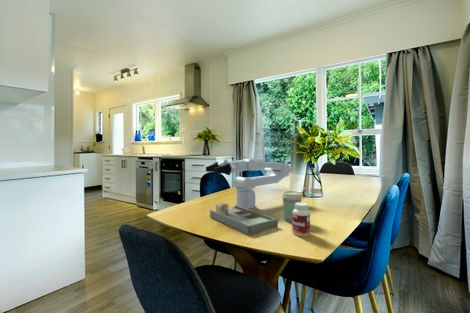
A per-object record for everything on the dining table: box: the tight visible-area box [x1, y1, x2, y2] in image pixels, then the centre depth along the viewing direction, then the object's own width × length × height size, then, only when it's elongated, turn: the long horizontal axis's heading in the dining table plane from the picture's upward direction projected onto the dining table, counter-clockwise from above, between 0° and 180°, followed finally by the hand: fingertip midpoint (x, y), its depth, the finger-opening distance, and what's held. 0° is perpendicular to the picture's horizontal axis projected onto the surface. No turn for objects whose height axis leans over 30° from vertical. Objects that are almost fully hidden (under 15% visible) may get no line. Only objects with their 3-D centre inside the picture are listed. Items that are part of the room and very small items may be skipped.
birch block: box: [215, 202, 229, 215], centre depth 108 cm, size 4×4×4 cm
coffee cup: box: [281, 190, 303, 224], centre depth 104 cm, size 8×8×12 cm
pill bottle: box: [291, 201, 311, 237], centre depth 89 cm, size 6×6×11 cm
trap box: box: [209, 204, 279, 236], centre depth 103 cm, size 15×27×3 cm, turn 37°
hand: (210, 169), depth 113 cm, fingers open, 7 cm apart
